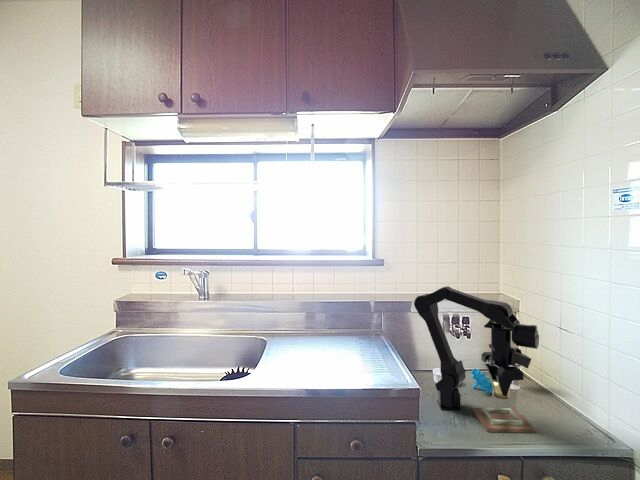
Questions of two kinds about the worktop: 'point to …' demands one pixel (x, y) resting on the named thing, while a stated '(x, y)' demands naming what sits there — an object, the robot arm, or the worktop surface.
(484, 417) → the carrier board
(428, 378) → the worktop surface
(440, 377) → the ramekin
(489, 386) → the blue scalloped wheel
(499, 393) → the tan two-tone cylinder
